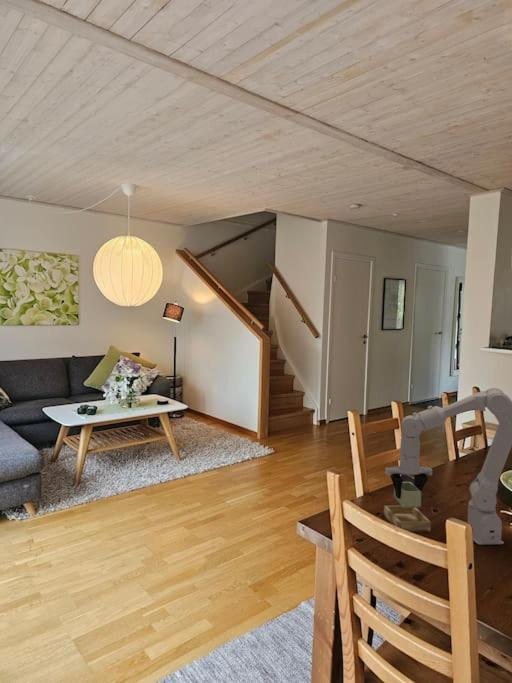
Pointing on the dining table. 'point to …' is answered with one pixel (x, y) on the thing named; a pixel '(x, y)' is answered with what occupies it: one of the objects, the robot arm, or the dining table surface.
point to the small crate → (409, 496)
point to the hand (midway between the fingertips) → (407, 497)
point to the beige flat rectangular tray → (407, 518)
